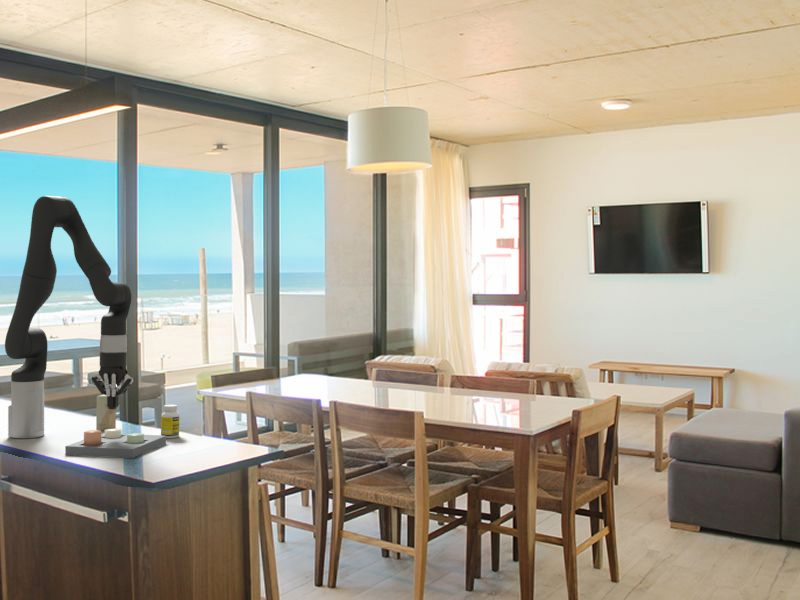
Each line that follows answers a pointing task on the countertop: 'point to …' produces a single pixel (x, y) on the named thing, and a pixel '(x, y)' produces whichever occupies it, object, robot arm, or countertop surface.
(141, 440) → the sage button
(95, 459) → the countertop surface
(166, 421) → the supplement bottle
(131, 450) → the panel
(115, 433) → the cream piece
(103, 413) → the box
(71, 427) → the countertop surface
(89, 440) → the terracotta button
